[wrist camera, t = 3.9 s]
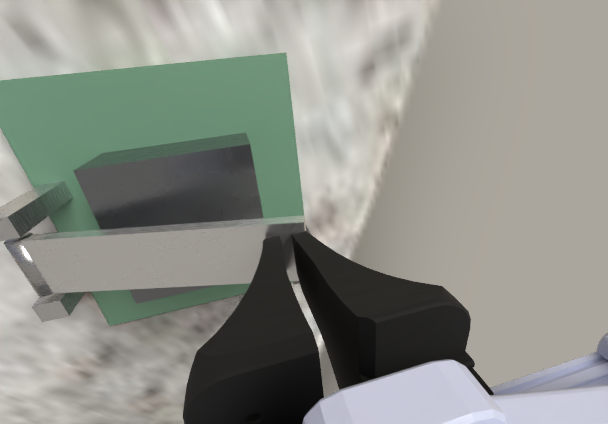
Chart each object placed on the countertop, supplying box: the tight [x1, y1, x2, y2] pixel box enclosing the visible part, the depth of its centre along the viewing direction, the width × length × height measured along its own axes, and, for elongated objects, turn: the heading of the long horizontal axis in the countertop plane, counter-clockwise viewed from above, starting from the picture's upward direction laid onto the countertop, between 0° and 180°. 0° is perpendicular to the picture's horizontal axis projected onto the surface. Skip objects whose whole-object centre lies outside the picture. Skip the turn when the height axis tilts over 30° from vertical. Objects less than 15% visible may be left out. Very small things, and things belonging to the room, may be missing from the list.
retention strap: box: [4, 216, 306, 297], centre depth 13 cm, size 14×3×1 cm, turn 96°
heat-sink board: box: [0, 53, 310, 326], centre depth 17 cm, size 15×16×6 cm
